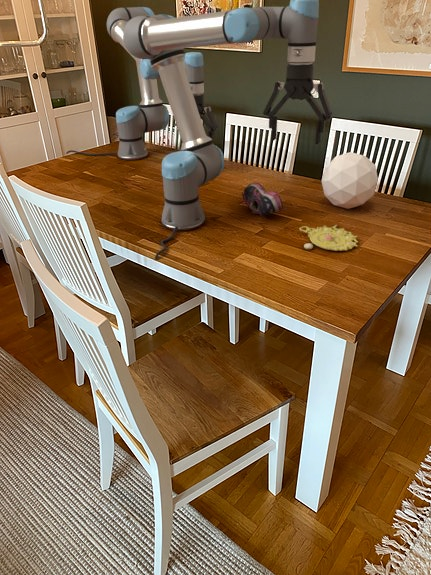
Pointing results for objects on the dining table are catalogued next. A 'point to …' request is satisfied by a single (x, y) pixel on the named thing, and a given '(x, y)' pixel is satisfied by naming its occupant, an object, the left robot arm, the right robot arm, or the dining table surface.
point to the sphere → (349, 180)
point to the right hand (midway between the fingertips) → (295, 141)
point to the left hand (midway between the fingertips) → (196, 144)
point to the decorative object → (330, 238)
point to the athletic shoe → (261, 200)
